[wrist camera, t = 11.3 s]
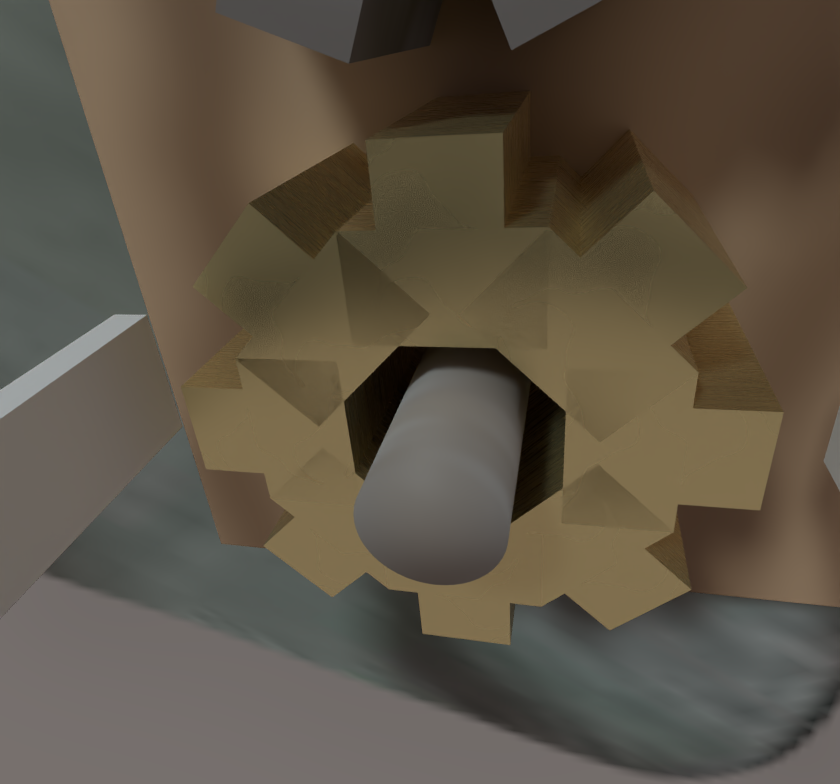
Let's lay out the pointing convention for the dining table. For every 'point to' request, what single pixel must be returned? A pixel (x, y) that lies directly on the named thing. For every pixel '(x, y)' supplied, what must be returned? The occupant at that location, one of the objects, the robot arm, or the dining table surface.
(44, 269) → the dining table surface
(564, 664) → the dining table surface
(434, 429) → the gear board
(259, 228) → the brass gear
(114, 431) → the robot arm
